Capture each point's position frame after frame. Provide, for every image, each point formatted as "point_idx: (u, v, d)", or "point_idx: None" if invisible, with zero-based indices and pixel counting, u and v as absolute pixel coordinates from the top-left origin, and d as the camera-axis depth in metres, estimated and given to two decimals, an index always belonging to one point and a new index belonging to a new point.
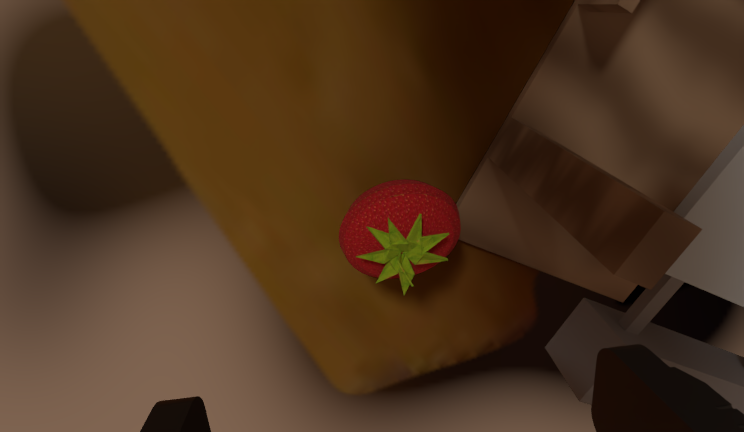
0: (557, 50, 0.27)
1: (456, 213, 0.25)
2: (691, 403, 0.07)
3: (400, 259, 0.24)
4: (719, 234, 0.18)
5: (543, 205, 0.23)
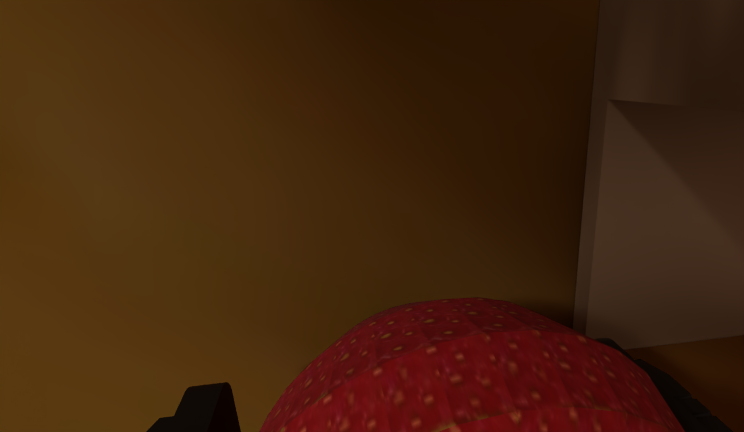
0: None
1: (658, 427, 0.05)
2: None
3: None
4: None
5: None
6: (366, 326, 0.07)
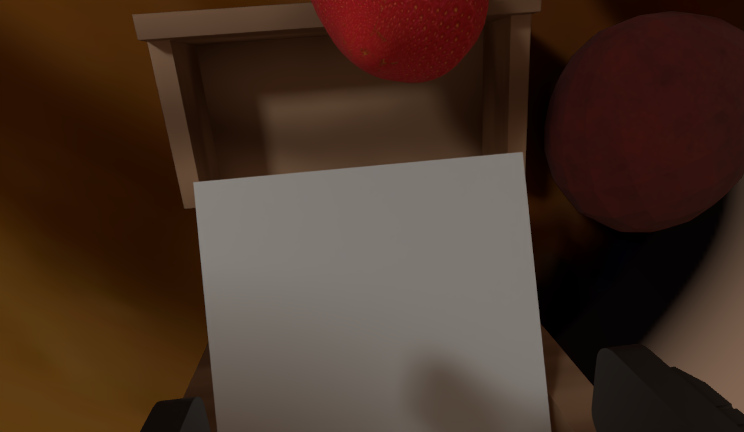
0: None
1: None
2: (691, 403, 0.07)
3: None
4: None
5: None
6: None
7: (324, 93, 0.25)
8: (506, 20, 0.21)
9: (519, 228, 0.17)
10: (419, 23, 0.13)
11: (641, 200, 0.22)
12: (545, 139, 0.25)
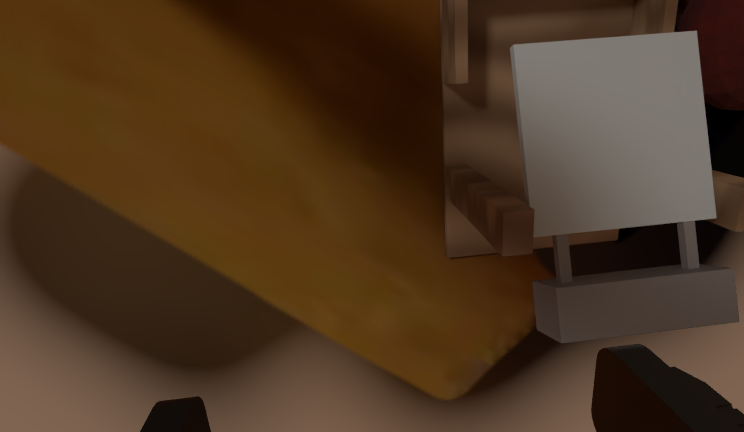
0: (448, 113, 0.39)
1: None
2: (691, 403, 0.07)
3: None
4: (559, 197, 0.29)
5: (472, 223, 0.34)
6: None
7: (529, 16, 0.37)
8: None
9: (695, 74, 0.30)
10: None
11: None
12: None
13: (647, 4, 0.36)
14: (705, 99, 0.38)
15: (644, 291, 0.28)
